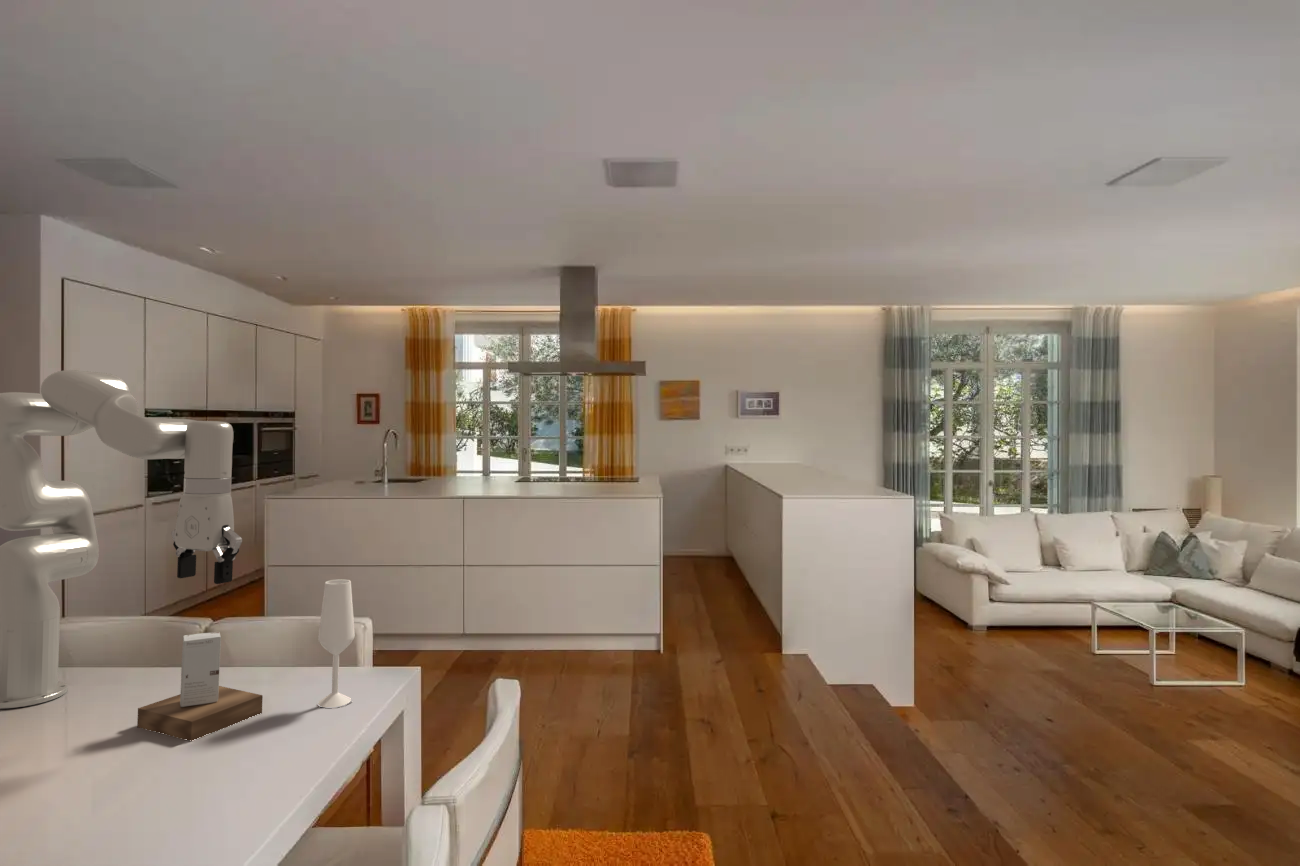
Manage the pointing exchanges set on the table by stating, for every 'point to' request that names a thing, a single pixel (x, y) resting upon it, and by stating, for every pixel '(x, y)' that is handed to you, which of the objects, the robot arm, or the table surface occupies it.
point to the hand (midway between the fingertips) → (204, 579)
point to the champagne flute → (336, 631)
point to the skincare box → (200, 669)
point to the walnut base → (199, 714)
